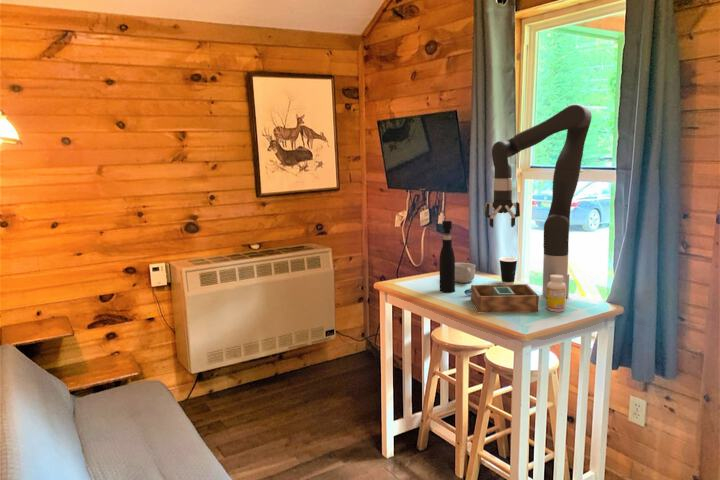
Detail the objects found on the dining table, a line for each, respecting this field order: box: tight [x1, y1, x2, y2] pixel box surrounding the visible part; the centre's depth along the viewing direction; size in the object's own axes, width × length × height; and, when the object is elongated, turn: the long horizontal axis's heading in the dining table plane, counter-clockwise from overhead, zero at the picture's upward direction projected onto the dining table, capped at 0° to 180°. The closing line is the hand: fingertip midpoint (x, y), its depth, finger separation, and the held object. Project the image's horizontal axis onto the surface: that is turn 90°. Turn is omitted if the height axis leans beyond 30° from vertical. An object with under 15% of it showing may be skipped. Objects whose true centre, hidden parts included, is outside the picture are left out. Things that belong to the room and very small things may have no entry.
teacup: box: [455, 262, 477, 284], centre depth 242 cm, size 14×11×8 cm
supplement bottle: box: [546, 275, 567, 313], centre depth 199 cm, size 7×7×13 cm
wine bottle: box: [439, 220, 456, 294], centre depth 227 cm, size 6×6×30 cm
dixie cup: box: [498, 256, 518, 285], centre depth 238 cm, size 8×8×11 cm
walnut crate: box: [470, 283, 540, 313], centre depth 207 cm, size 22×17×6 cm
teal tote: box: [493, 287, 515, 296], centre depth 206 cm, size 6×10×5 cm, turn 177°
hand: (502, 227), depth 230 cm, fingers open, 8 cm apart
